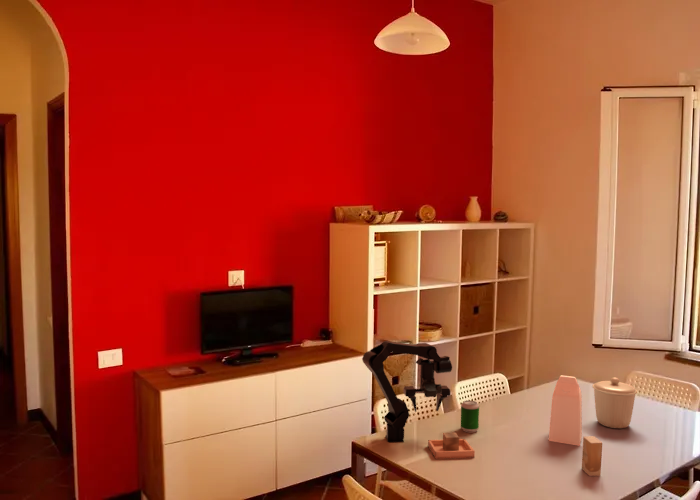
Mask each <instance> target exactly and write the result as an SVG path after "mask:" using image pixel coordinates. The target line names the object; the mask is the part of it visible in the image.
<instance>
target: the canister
mask: <svg viewBox="0 0 700 500" xmlns="http://www.w3.org/2000/svg"><path fill="white" fill-rule="evenodd" d="M591 387H592V388H593V394H594V395H593V396H594V404H595V405H594V407H595V408H594V409H595V417H596V420H597V422H598V423H599V424H600V425H602V426H604V427H607V428H610V429H611V428H613V429H625V428H627V427H629V426H630V424H631V421H632V415H633V413H634V411H633V410H634V405H635V399H636V394H637V393H638V390H637V389H636V388H635V387H634V386H633V385H631V384H628V383H627V382H621V381H620V379H619V378H618V377H615V376H614V377H611V378H610V380H602V381H597V382H595V383H593V384H592V386H591Z"/></svg>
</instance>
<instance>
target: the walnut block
mask: <svg viewBox="0 0 700 500" xmlns="http://www.w3.org/2000/svg"><path fill="white" fill-rule="evenodd" d="M459 439H460V437H459V435H458V434H457V432H442V440H443V449H444V451H459Z"/></svg>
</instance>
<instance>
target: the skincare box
mask: <svg viewBox="0 0 700 500" xmlns="http://www.w3.org/2000/svg"><path fill="white" fill-rule="evenodd" d="M582 437H583V438H582V439H583V440H582V452H581V453H582V454H581V455H582V456H581V470H582V471H584V472H585V474H587V475H588V476H590V477H594V476H595V477H597V476H598V477H600V476H601V475H602V474H601V473H602V460H603V459H602V456H603V455H602V454H603V442H602V441H601V440H599V438H597V437H596V436H594V435H593V436H592V435H591V436H589V435H588V436H586V435H585V436H582Z"/></svg>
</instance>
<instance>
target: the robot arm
mask: <svg viewBox="0 0 700 500" xmlns="http://www.w3.org/2000/svg"><path fill="white" fill-rule="evenodd" d="M391 353H395V354H396V353H398V354H403V355H412V356H413V355H414V356H418V357H419V358H418V359H417V360H416V361H415V364H417V365H419V366H420V373H419V388H415V387H414V385H412V386H411V385H405V386H404V387H403V390H402V391H403V394H404V395H405V397H407V398H408V399H410V400H411V405H412V406H413V409H414V412H415V413H416V412H417V396H416V394H424V397H426V398H436V404H435V405H436V407H435V409H436V412H439V410H440V407H441V405H442V402H443V400H444V399H446V398H448V397H450V396H451V389H450V388H449V387H448V386H447V385H442V384H441V383H439V384H437V383H436V380H435V373H436V374H447V373H451V372H452V371H453V364H452V362H451V360H450V356H449V355H444V356H440V355H439V353H438V350H437V347H436V346H434V345H432V344H429V343H427V342H420V343H416V344H411V343H404V342H403V343H402V342H396V341H389V340H384V341H383V342H382V343H380V344H378V345H377V346H374V347H373V348H371V349H370V350H368V351H366V352H365V353H363V356H362V358H361V359H362V363H363V364H364V365H365V367H366V368H367V369H368V370H369V371H370V372H371V374H372V375H373V377H374V379H375V380H376V382H377V383H378V384H377V385H378V386H379V388H380V390H381V393H382V394H383V395H384V398H385V400H386V402H387V409H388V412H387V413H386V414H385V415H384V421H385V423H386V431H385V432H386V433H385V434H386V435H385V439H386V440H387V441H386V442H387V443H404V439H405V427H406V424H407V422H408V419H409V417H410V409H409V408H408V406H407V404H406V402H405V401H404V400H402V399H401V398H398V397H397V395H396V392H395V390H394V388H393V387H392V384H391V383H390V382H391V381H390V379H389V378H388V376H387V375H386V373H385V367H384V366H385V365H384V363H383V362H385V361H386V360H387V359H388V357H389V356H390V354H391ZM423 358H424V359H423Z"/></svg>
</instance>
